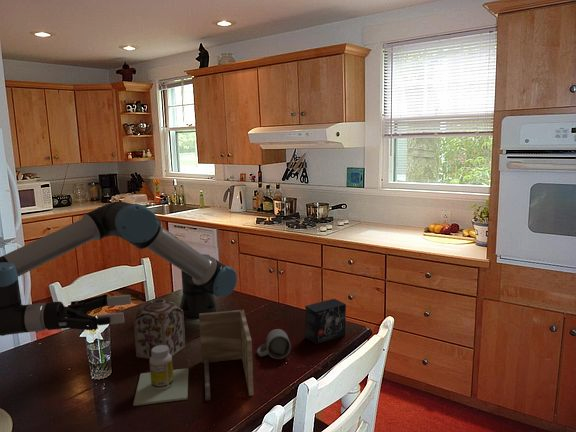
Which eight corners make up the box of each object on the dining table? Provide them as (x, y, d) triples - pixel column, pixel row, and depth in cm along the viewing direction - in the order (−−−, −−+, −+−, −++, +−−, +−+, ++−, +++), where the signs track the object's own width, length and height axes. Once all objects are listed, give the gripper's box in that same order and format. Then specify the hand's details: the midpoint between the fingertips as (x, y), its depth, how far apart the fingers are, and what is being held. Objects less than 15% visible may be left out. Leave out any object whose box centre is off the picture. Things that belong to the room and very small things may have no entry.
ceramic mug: (287, 346, 153) (287, 325, 152) (291, 358, 145) (290, 335, 144) (256, 349, 152) (255, 328, 150) (258, 361, 144) (257, 338, 142)
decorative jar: (135, 357, 147) (131, 304, 144) (157, 342, 158) (153, 292, 155) (166, 363, 143) (162, 309, 140) (186, 347, 154) (183, 296, 151)
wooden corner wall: (201, 361, 144) (199, 313, 141) (245, 356, 146) (243, 309, 144) (202, 401, 122) (199, 345, 119) (253, 395, 125) (251, 340, 122)
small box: (316, 345, 154) (315, 311, 152) (304, 338, 159) (304, 305, 157) (346, 335, 161) (346, 303, 159) (334, 329, 166) (334, 297, 164)
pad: (140, 375, 136) (140, 373, 136) (188, 370, 139) (188, 368, 139) (133, 405, 121) (133, 403, 120) (187, 399, 123) (187, 397, 123)
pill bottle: (166, 376, 134) (164, 341, 132) (178, 384, 129) (175, 348, 128) (147, 384, 129) (144, 348, 128) (158, 393, 125) (155, 356, 123)
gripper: (61, 311, 138) (134, 304, 142) (33, 350, 114) (121, 339, 118) (57, 288, 137) (131, 281, 141) (28, 322, 113) (118, 312, 117)
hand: (127, 308), depth 129 cm, fingers open, 13 cm apart
